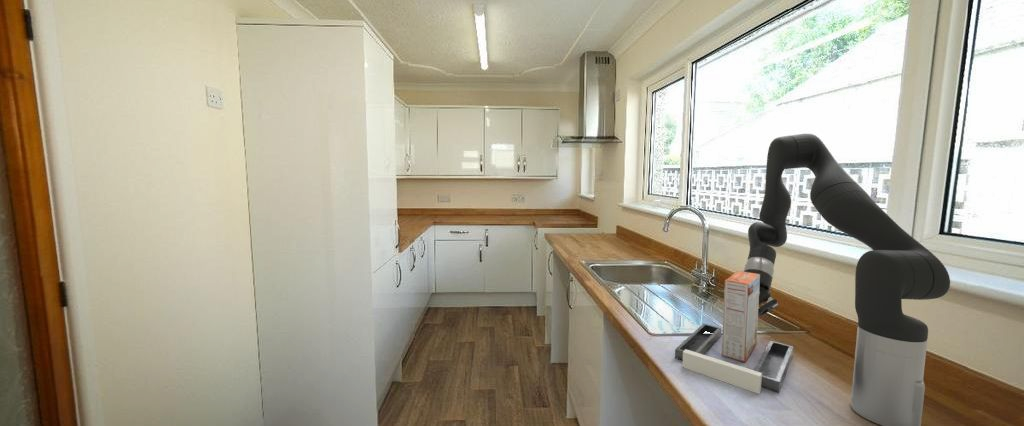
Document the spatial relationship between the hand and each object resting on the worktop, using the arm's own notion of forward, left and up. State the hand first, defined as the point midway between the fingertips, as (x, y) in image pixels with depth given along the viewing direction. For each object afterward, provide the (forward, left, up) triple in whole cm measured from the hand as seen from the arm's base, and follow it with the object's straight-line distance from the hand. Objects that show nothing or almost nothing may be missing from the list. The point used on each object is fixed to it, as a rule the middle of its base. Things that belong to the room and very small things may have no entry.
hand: (746, 324), depth 102 cm
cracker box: (0, +7, -5) cm, 9 cm away
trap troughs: (0, +12, -5) cm, 14 cm away
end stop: (0, +27, -5) cm, 27 cm away
